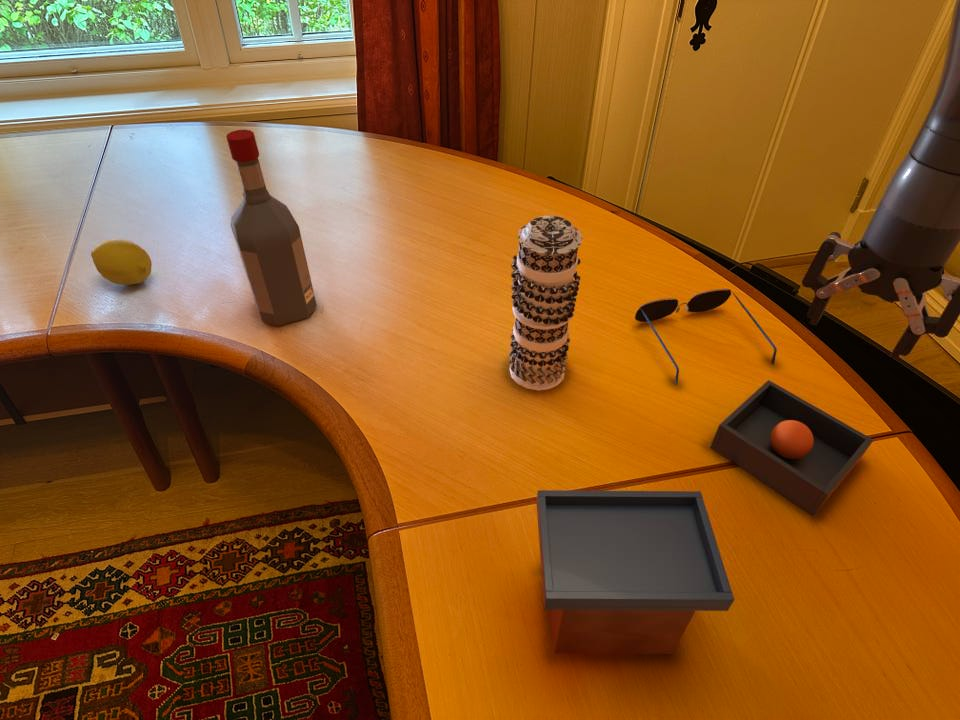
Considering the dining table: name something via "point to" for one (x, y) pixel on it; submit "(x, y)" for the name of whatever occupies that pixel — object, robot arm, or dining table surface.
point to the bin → (792, 478)
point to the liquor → (269, 242)
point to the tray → (629, 552)
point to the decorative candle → (543, 301)
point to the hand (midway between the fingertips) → (854, 337)
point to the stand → (618, 631)
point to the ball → (791, 439)
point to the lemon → (122, 261)
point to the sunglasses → (695, 304)
